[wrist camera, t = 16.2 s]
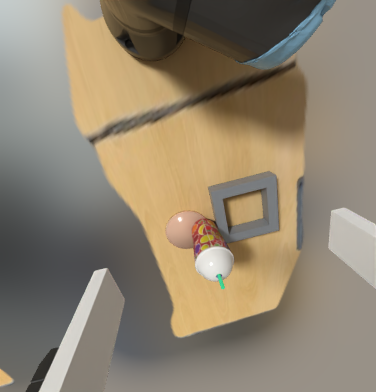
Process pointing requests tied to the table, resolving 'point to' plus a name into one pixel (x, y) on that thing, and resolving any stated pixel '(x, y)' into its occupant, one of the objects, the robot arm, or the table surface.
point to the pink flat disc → (182, 228)
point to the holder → (241, 186)
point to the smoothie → (211, 252)
